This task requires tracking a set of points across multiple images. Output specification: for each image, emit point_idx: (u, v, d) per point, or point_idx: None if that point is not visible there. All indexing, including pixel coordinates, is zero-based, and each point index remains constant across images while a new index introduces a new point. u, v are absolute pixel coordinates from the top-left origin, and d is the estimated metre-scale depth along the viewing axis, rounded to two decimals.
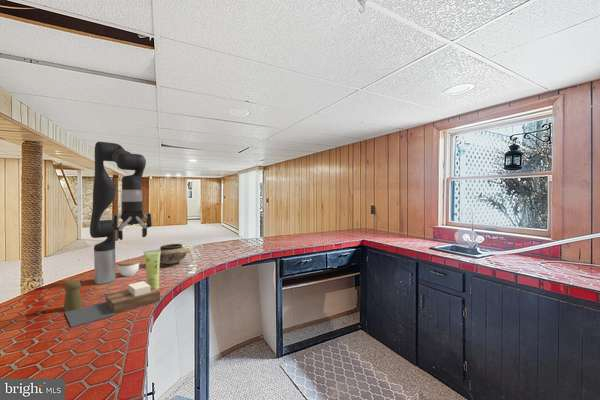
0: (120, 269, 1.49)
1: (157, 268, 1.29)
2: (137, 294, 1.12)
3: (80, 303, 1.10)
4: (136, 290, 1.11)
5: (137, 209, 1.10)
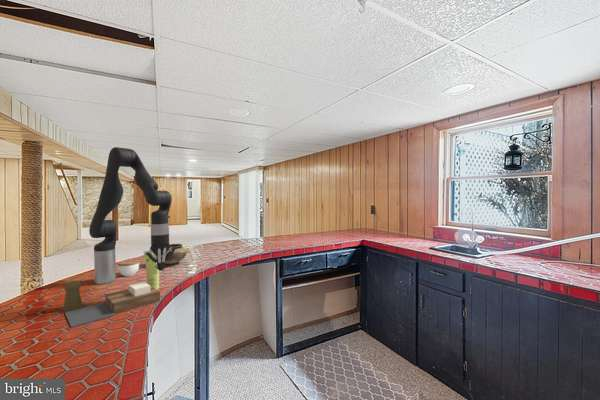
0: (120, 269, 1.49)
1: None
2: (137, 294, 1.12)
3: (80, 303, 1.10)
4: (136, 290, 1.11)
5: (165, 242, 1.21)
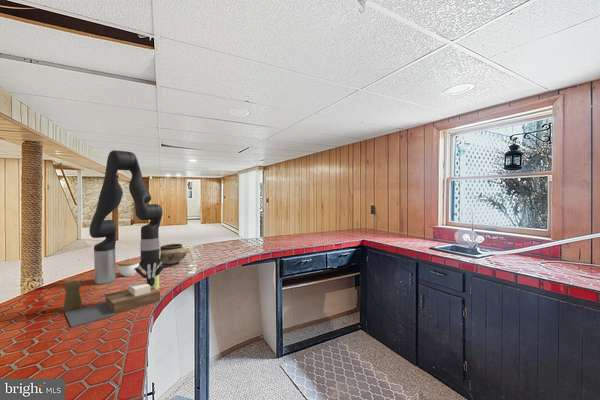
0: (120, 269, 1.49)
1: None
2: (137, 294, 1.12)
3: (80, 303, 1.10)
4: (136, 290, 1.11)
5: (155, 257, 1.18)
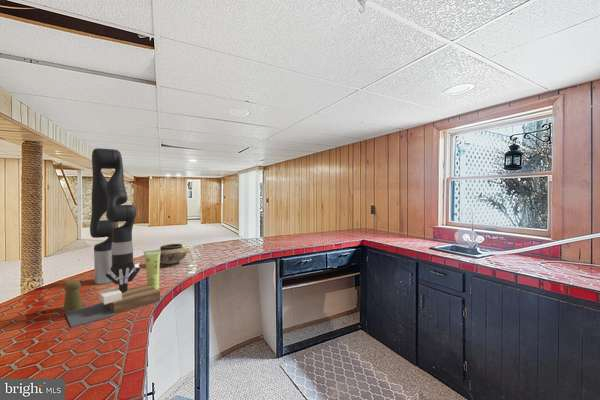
0: None
1: (157, 268, 1.29)
2: (107, 302, 1.04)
3: (80, 303, 1.10)
4: (105, 298, 1.03)
5: (128, 262, 1.10)
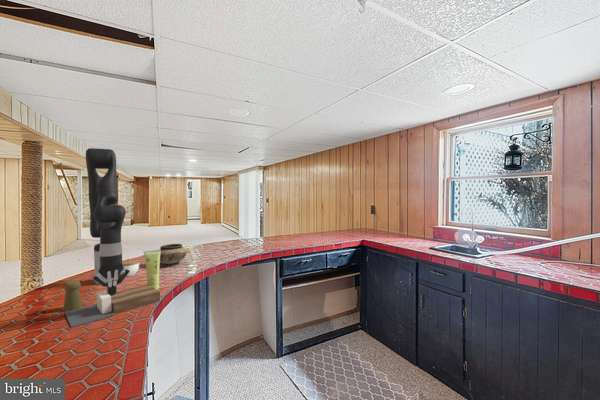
0: None
1: (157, 268, 1.29)
2: (109, 309, 1.04)
3: (80, 303, 1.10)
4: (104, 312, 1.03)
5: (116, 263, 1.07)
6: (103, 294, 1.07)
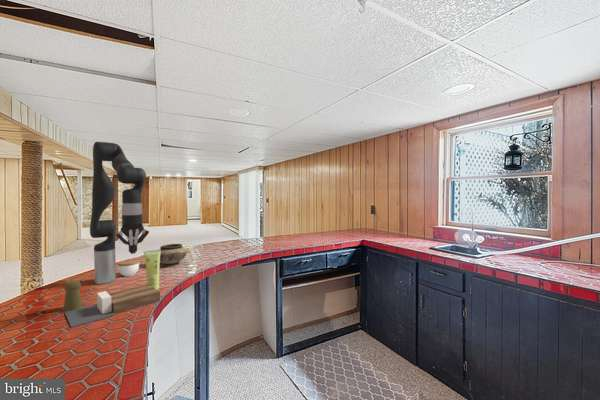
0: (120, 269, 1.49)
1: (157, 268, 1.29)
2: (109, 309, 1.05)
3: (80, 303, 1.10)
4: (104, 312, 1.03)
5: (137, 223, 1.12)
6: (103, 294, 1.07)
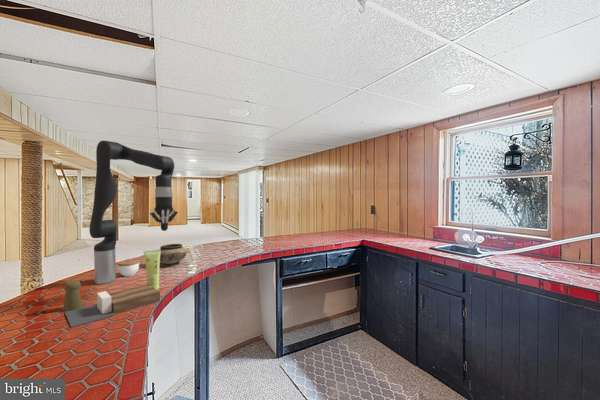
0: (120, 269, 1.49)
1: (157, 268, 1.29)
2: (109, 309, 1.05)
3: (80, 303, 1.10)
4: (104, 312, 1.03)
5: (169, 203, 1.30)
6: (103, 294, 1.07)
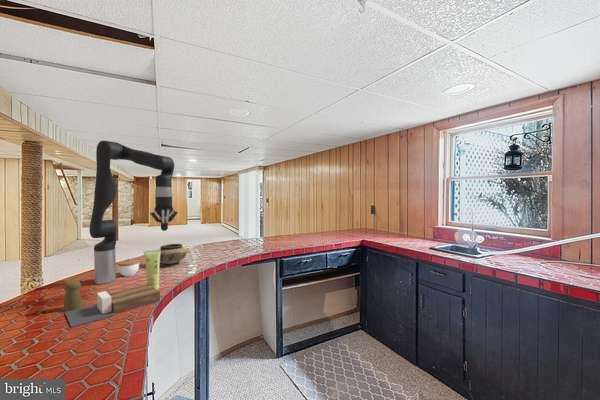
0: (120, 269, 1.49)
1: (157, 268, 1.29)
2: (109, 309, 1.05)
3: (80, 303, 1.10)
4: (104, 312, 1.03)
5: (169, 203, 1.30)
6: (103, 294, 1.07)
